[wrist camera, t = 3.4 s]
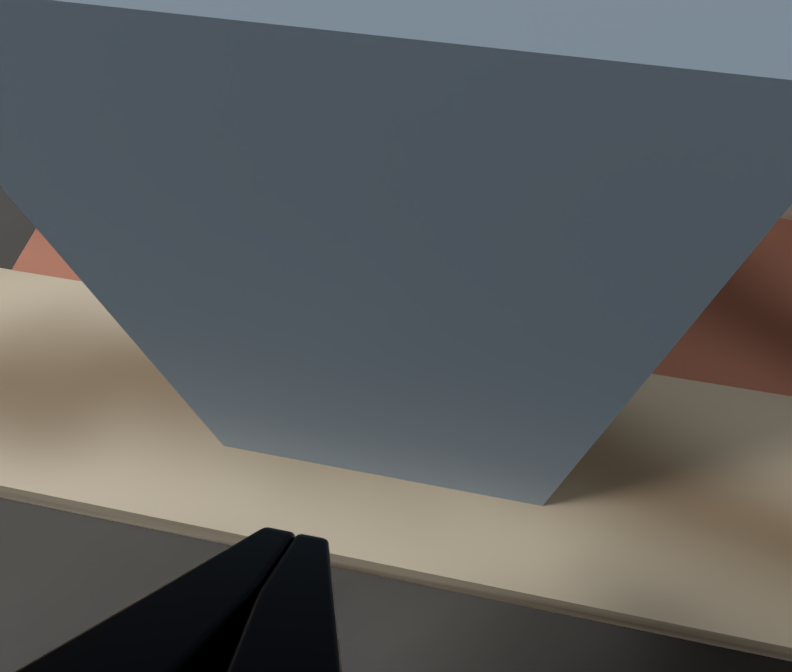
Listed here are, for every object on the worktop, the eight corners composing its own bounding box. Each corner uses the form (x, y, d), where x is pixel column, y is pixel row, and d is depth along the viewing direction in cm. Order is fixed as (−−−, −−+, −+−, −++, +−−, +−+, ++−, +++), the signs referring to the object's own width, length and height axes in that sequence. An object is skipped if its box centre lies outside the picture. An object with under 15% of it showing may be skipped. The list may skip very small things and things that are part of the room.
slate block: (542, 505, 15) (886, 90, 4) (223, 445, 15) (-182, -25, 5) (564, 239, 18) (773, -343, 8) (305, 203, 19) (175, -365, 9)
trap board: (933, 691, 15) (1024, 695, 13) (-101, 476, 18) (-174, 449, 16) (810, 30, 26) (847, -28, 24) (194, -30, 29) (176, -87, 27)
